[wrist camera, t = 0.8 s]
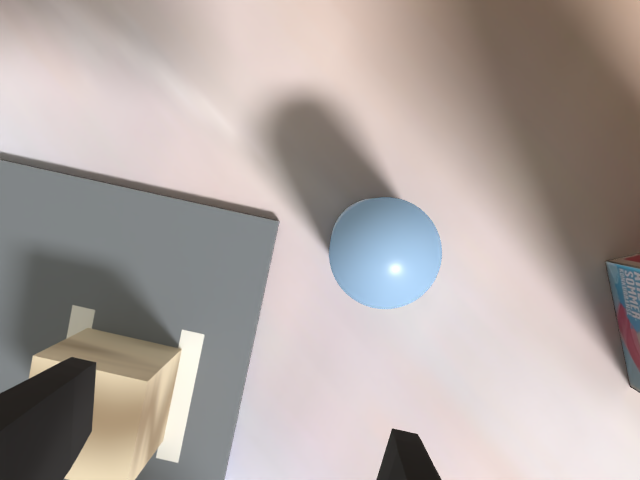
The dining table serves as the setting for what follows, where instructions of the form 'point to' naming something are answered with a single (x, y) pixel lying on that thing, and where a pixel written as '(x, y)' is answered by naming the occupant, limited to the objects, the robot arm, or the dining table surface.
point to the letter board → (137, 294)
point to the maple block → (119, 400)
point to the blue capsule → (384, 252)
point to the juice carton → (627, 310)
